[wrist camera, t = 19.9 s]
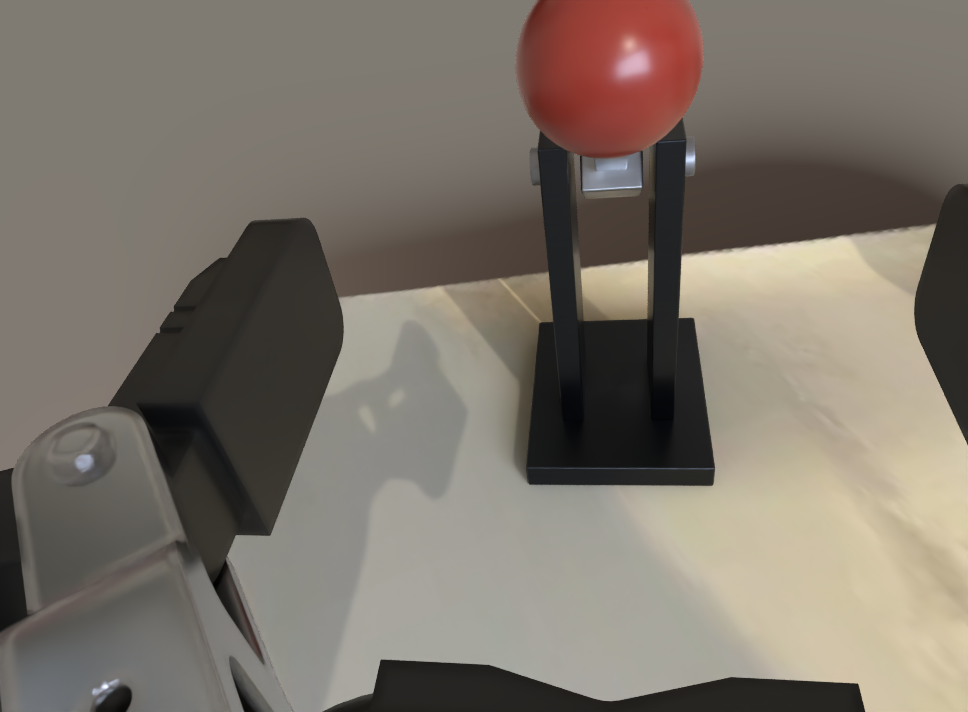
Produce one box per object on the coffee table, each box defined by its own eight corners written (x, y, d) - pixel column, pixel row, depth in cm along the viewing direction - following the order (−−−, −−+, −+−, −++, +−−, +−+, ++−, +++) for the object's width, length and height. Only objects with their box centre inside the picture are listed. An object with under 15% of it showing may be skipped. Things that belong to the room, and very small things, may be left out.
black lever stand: (713, 486, 33) (745, 179, 23) (528, 485, 34) (484, 194, 24) (693, 334, 40) (711, 52, 30) (541, 338, 42) (511, 70, 32)
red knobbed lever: (716, 135, 13) (714, -88, 13) (506, 150, 14) (498, -62, 13) (659, 210, 30) (657, 115, 29) (566, 215, 30) (564, 122, 30)
